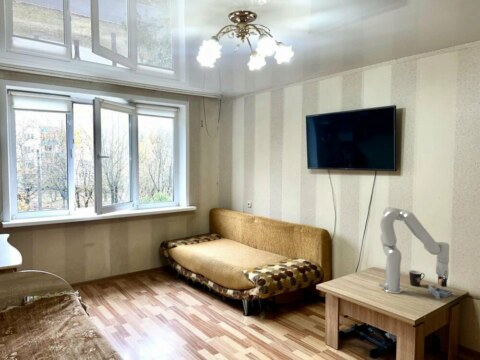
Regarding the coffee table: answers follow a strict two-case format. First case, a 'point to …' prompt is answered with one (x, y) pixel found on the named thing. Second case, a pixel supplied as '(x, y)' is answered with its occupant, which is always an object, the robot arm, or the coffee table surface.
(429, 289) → the fence
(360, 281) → the coffee table surface
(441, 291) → the dish
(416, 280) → the coffee mug
